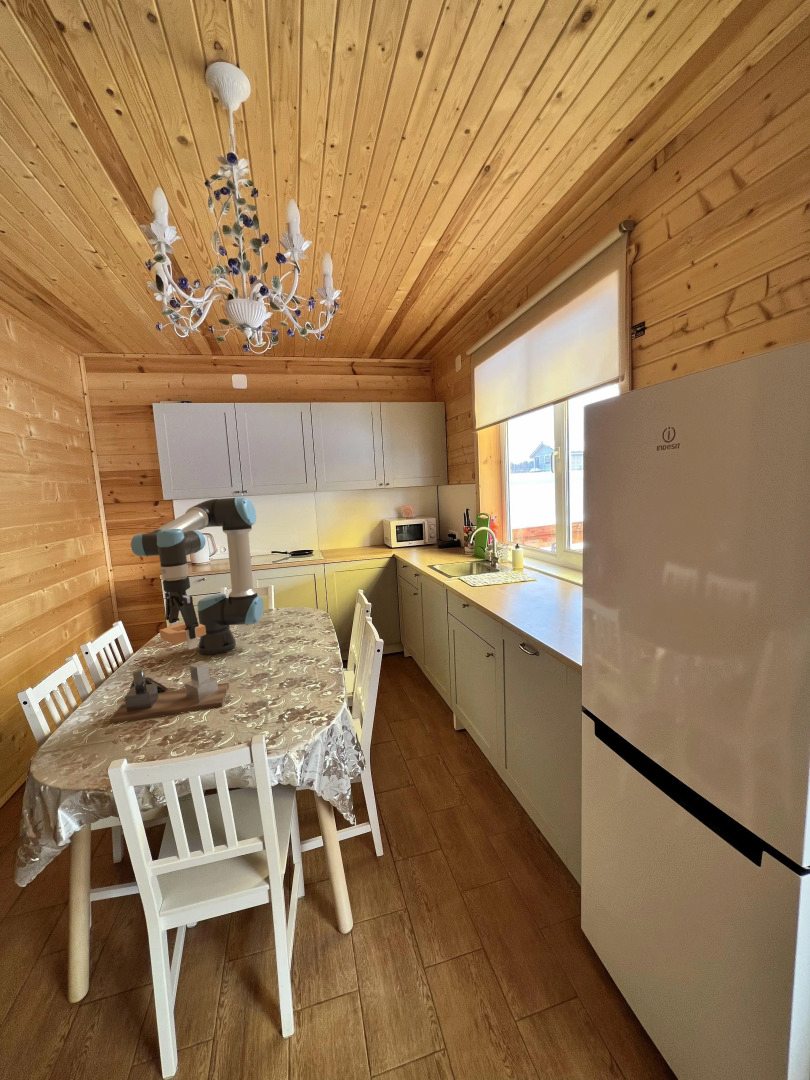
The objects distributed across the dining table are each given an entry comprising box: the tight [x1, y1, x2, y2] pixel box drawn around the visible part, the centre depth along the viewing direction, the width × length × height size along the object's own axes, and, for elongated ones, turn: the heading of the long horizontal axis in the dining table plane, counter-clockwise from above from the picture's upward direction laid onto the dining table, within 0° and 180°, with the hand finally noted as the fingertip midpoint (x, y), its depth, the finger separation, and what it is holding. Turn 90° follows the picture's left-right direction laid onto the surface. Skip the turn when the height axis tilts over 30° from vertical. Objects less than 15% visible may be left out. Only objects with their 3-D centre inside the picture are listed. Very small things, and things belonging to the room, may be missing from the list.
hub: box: [184, 660, 219, 703], centre depth 145 cm, size 7×7×11 cm
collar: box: [159, 621, 206, 645], centre depth 142 cm, size 10×10×3 cm
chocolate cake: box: [129, 676, 169, 693], centre depth 154 cm, size 10×7×12 cm
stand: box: [124, 669, 158, 712], centre depth 141 cm, size 7×7×11 cm
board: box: [109, 682, 230, 725], centre depth 144 cm, size 14×32×2 cm, turn 103°
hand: (184, 644), depth 143 cm, fingers closed on collar, 10 cm apart
